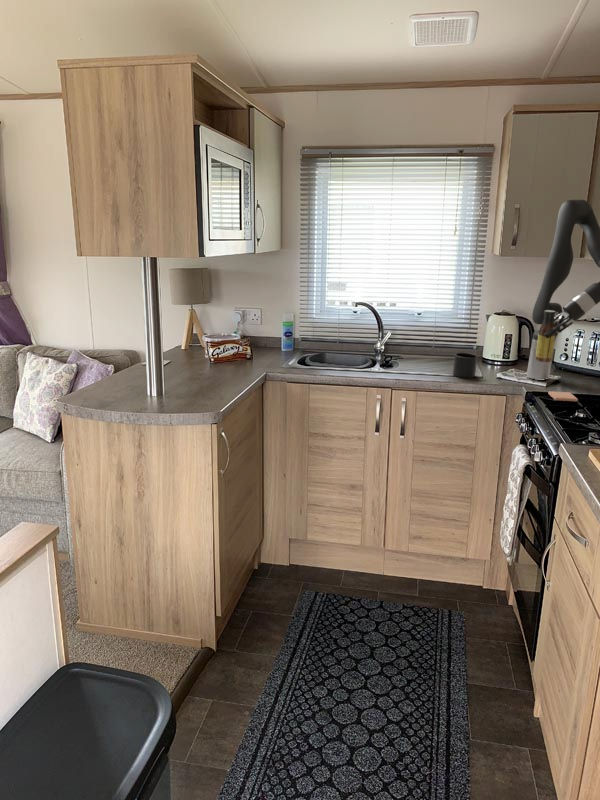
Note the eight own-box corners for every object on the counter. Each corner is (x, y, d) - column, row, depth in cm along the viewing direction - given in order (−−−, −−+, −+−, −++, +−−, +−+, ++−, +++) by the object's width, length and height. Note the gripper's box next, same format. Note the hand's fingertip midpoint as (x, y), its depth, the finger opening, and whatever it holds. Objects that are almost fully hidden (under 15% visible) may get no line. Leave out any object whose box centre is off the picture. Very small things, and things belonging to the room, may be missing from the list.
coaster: (548, 393, 246) (548, 391, 245) (569, 394, 245) (570, 392, 245) (555, 400, 238) (555, 397, 237) (577, 401, 237) (577, 399, 237)
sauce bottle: (547, 358, 244) (556, 309, 238) (554, 362, 238) (563, 312, 232) (531, 358, 244) (539, 309, 238) (537, 362, 238) (546, 312, 232)
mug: (468, 371, 274) (471, 351, 272) (477, 378, 263) (480, 358, 260) (448, 370, 274) (450, 351, 271) (456, 378, 262) (459, 357, 260)
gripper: (566, 296, 240) (531, 324, 244) (580, 302, 226) (542, 331, 230) (577, 310, 241) (542, 337, 245) (592, 316, 228) (554, 346, 232)
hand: (542, 334), depth 238 cm, fingers closed on sauce bottle, 6 cm apart
